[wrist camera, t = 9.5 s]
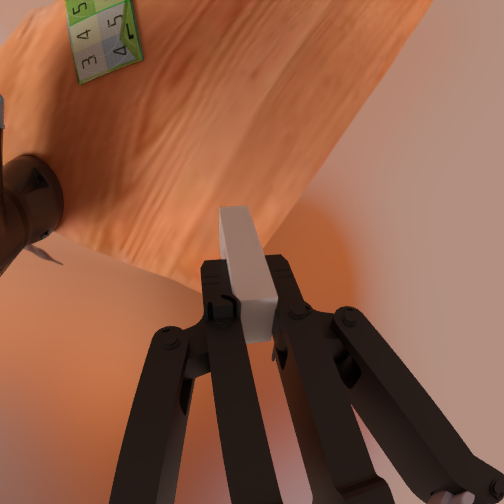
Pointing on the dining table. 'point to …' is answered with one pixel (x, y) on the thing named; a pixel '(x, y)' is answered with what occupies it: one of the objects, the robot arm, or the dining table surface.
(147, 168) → the dining table surface
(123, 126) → the dining table surface
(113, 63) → the green number grid board
